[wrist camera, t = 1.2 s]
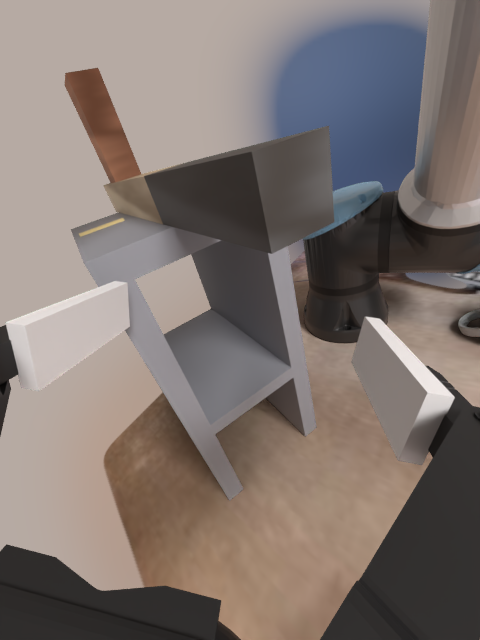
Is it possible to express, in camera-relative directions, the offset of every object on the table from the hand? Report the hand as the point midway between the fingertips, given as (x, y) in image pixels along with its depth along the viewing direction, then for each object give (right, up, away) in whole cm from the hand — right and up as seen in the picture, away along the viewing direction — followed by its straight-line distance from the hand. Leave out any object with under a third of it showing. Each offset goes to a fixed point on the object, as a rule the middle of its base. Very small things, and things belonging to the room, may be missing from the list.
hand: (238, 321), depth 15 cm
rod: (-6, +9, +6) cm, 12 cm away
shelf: (0, -14, +26) cm, 29 cm away
